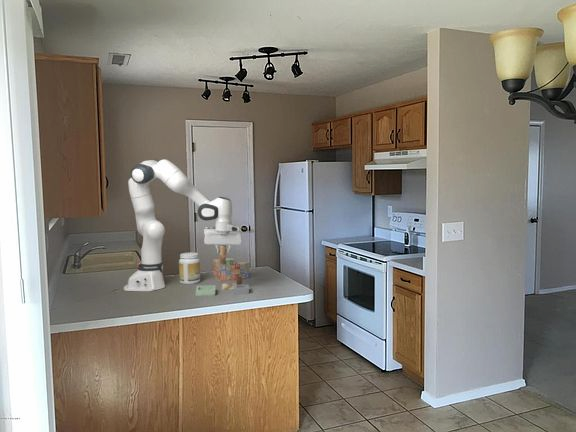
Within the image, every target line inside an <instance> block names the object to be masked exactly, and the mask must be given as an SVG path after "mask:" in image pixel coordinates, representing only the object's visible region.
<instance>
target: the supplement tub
mask: <svg viewBox="0 0 576 432" xmlns="http://www.w3.org/2000/svg"><path fill="white" fill-rule="evenodd" d="M179 258H180V259H179V260H178V273H179V275H178V276H179V283H180V284H181V285H194V284H198V283H199V282H201V260H200V258H199V253H198V252H183V253H180V254H179Z"/></svg>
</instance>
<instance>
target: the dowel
mask: <svg viewBox="0 0 576 432" xmlns="http://www.w3.org/2000/svg"><path fill="white" fill-rule="evenodd" d="M219 249H220V253H219V259H220V264H221V265H225V264H226V258H227V253H226V249H227V245H220V247H219Z"/></svg>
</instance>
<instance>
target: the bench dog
mask: <svg viewBox="0 0 576 432" xmlns="http://www.w3.org/2000/svg"><path fill="white" fill-rule="evenodd" d="M236 283H237V285H243V278H242V277H237V279H236Z"/></svg>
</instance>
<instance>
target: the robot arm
mask: <svg viewBox="0 0 576 432" xmlns="http://www.w3.org/2000/svg"><path fill="white" fill-rule="evenodd" d="M157 179H159V181H161V182H162V183H163V184H164V185H165V186H166V187H168V188H169V189H170V190H171V191H173V192H174V193H176V194H179V195H180V194H181V195H183V196H186V197H188V198H189V199H191V201H193V203H194V204H196V205H197V206H198V209H197V216H198V217H199V219H201V220H203V221H205V222H208V221H212V220H214V221H215V226H211V227H210V226H207V227H205V228H204V229H203V234H204V238H203V239H204V241H203V243H204V244H205V245H214V246H215V249H216V250H217V251H216V253H217V254H220V248H219V245H220V246H221V245H225V246H227V248H226V254H229V251H230V248H231V247H232V245H233V246H241V245H242V244H243V237H242V233H241V231H240V230H241V227H240V226H238V225H236V224H233V220H232V216H233V203H232V200H231V199H230V198H228V197H224V196H217V197H216V198H215V199H212V200H210V199H209V198H207V197H206V196H205V195H204V194H203V193H202V192H201V191H200V190H199V189H197V188H196V186H195V185H194V184H193V183H192V182H191V181H190V179H189V178H188V177H187V176H186V174H185V173H184V172H183V171H182V170H181V169H180V168H179V167H178V166H177V165H175V164H174V163H173V162H171V161H170V160H168V159H166V158H165V159H164V158H163V159H161V160H158V159H155V158H154V159H153V158H152V159H148V160H143V161H142V162H140V163H138V164H135V165H134V166H133V167H132V169H131V170H130V178H129V179H128V181H127V184H128V185H127V186H128V193H129V197H130V201H131V203H132V207H133V211H134V216H135V222H136V230H137V232H138V233H139V235H141V236H142V245H141V248H140V255H141V256H140V258H141V259H140V260H141V262H139V263H138V264H137V269H138V270H136V271H135V272H134V273H133V274H131V275H130V276H129V278H128V280H127V284H126V285H125V286H124V287H123V291H126V292H152V291H156V290H161V289H164V288H165V287H166V284H165V280H164V274H163V272H164V265H163V264H164V263H163V260H162V259H163V258H162V246H163V240H164V235H165V232H166V229H165V225H163V223H162V222H161V221H159V220H158V219H156V214H155V213H156V212H155V207H156V206H155V203H154V199H153V195H152V192H151V188H150V182H153V181H155V180H157Z"/></svg>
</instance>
